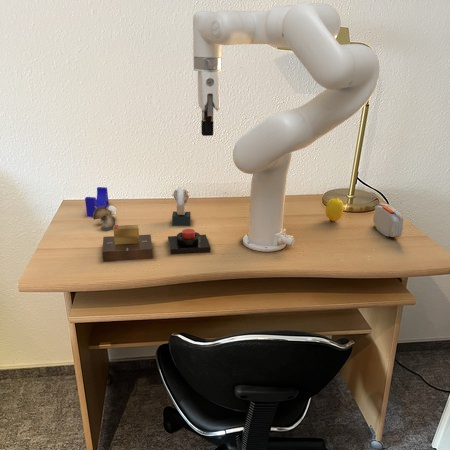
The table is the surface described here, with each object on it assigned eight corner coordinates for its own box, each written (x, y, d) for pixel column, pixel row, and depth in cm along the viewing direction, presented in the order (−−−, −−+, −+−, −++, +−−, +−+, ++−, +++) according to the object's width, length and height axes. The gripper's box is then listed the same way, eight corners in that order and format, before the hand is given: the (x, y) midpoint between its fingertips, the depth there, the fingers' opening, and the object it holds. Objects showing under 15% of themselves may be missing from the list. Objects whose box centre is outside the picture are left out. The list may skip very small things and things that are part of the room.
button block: (205, 239, 144) (205, 228, 142) (210, 252, 136) (210, 240, 134) (168, 241, 142) (167, 230, 140) (170, 254, 134) (170, 243, 132)
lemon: (336, 217, 162) (339, 193, 158) (344, 223, 157) (348, 199, 153) (321, 219, 160) (324, 195, 156) (329, 225, 156) (332, 200, 152)
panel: (151, 243, 140) (150, 233, 139) (152, 259, 131) (152, 248, 130) (104, 246, 138) (103, 235, 137) (103, 262, 129) (101, 251, 128)
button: (194, 234, 139) (194, 228, 138) (195, 239, 136) (195, 233, 135) (181, 234, 139) (181, 228, 138) (182, 239, 135) (182, 233, 135)
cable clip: (100, 217, 158) (98, 199, 155) (87, 216, 158) (84, 198, 155) (113, 204, 168) (111, 187, 165) (100, 204, 168) (98, 186, 165)
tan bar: (139, 240, 135) (138, 223, 132) (139, 243, 133) (138, 227, 130) (115, 241, 134) (113, 224, 131) (114, 244, 132) (113, 228, 129)
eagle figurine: (88, 217, 154) (87, 222, 146) (99, 197, 153) (98, 201, 144) (110, 229, 157) (110, 235, 148) (121, 209, 155) (121, 214, 147)
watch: (190, 218, 158) (190, 185, 153) (190, 228, 151) (189, 193, 146) (173, 218, 158) (172, 185, 152) (171, 228, 151) (170, 193, 145)
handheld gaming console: (400, 241, 145) (406, 216, 141) (391, 242, 145) (397, 216, 141) (378, 223, 158) (382, 199, 154) (369, 224, 157) (373, 200, 153)
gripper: (226, 67, 126) (224, 140, 135) (216, 62, 139) (216, 129, 148) (197, 67, 125) (197, 141, 134) (190, 62, 137) (191, 130, 147)
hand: (207, 135), depth 141 cm, fingers closed
